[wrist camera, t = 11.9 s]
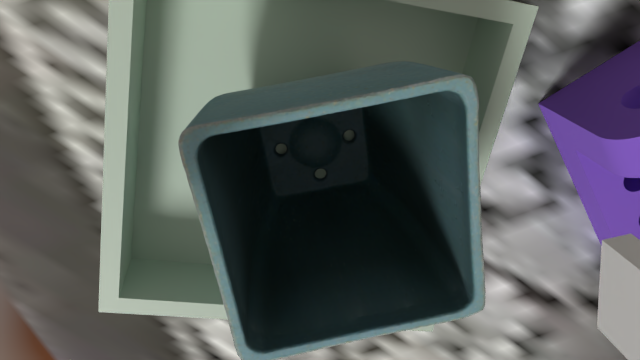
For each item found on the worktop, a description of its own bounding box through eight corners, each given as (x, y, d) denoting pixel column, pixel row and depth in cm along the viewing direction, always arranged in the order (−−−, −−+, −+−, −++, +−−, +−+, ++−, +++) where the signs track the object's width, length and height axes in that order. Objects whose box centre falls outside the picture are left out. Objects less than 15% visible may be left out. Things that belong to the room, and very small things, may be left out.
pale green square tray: (408, 284, 30) (432, 331, 27) (116, 261, 27) (98, 311, 23) (493, -4, 24) (538, 6, 21) (132, -76, 21) (111, -79, 18)
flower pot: (194, 63, 23) (171, 132, 15) (395, 25, 23) (480, 71, 15) (239, 238, 27) (241, 370, 18) (412, 202, 27) (487, 314, 19)
